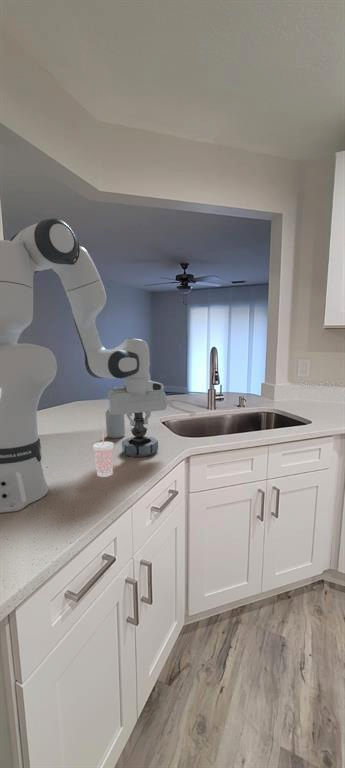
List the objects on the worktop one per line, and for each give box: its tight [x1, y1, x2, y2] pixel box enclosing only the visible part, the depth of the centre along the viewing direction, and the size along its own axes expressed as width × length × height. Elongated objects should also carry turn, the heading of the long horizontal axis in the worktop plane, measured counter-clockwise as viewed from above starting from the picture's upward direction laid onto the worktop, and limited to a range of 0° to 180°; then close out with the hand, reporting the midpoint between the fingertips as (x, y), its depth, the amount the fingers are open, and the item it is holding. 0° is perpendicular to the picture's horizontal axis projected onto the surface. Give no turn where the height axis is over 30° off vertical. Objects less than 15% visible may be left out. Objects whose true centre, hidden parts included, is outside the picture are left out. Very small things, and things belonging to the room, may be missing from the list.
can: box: [105, 407, 126, 439], centre depth 139 cm, size 8×8×12 cm
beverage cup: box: [92, 427, 115, 478], centre depth 100 cm, size 6×6×14 cm
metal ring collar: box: [121, 435, 159, 458], centre depth 120 cm, size 12×12×4 cm
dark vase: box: [130, 412, 148, 441], centre depth 119 cm, size 6×6×12 cm
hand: (139, 424), depth 119 cm, fingers closed on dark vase, 3 cm apart
